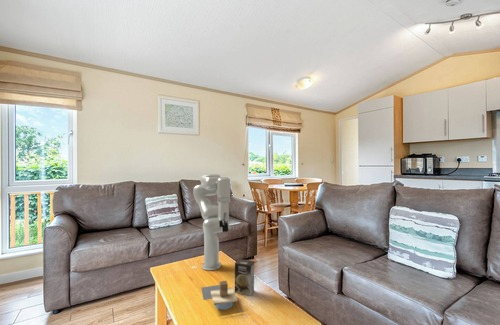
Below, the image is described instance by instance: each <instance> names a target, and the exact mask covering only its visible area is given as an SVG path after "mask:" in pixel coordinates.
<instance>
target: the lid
mask: <svg viewBox="0 0 500 325" xmlns="http://www.w3.org/2000/svg"><path fill="white" fill-rule="evenodd" d="M219 285H220V289H219V290H213V291H211V296H212V303H213V306H215V305H219V304H224V303H230V302H233V303H234V302H235V303H236V302H238V300H239V299H238V297H237V295H236V293H235V289H234V288H233V287H228V286H229V285H228V281H227V280H221V281H219Z"/></svg>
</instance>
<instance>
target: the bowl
mask: <svg viewBox="0 0 500 325" xmlns="http://www.w3.org/2000/svg"><path fill="white" fill-rule="evenodd" d="M233 305H234V302H230V303H224V304H219V305H214V307H215V309H217V310H222V311H223V310H225V311H226V310H228V309H230V308H232V307H233Z"/></svg>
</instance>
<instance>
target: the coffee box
mask: <svg viewBox="0 0 500 325" xmlns="http://www.w3.org/2000/svg"><path fill="white" fill-rule="evenodd" d="M254 291H255V261H254V260H248V259H241V258H239V259H238V260H236V261H235V263H234V293H235V294H241V295H245V296H252V295H253V292H254Z"/></svg>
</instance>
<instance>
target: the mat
mask: <svg viewBox="0 0 500 325" xmlns="http://www.w3.org/2000/svg"><path fill="white" fill-rule="evenodd" d="M219 289H220V284H217V285H210V286H204V287H201V292H202V298H203V301H205V300H210V299H212V296H211V291H213V290H219Z"/></svg>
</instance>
